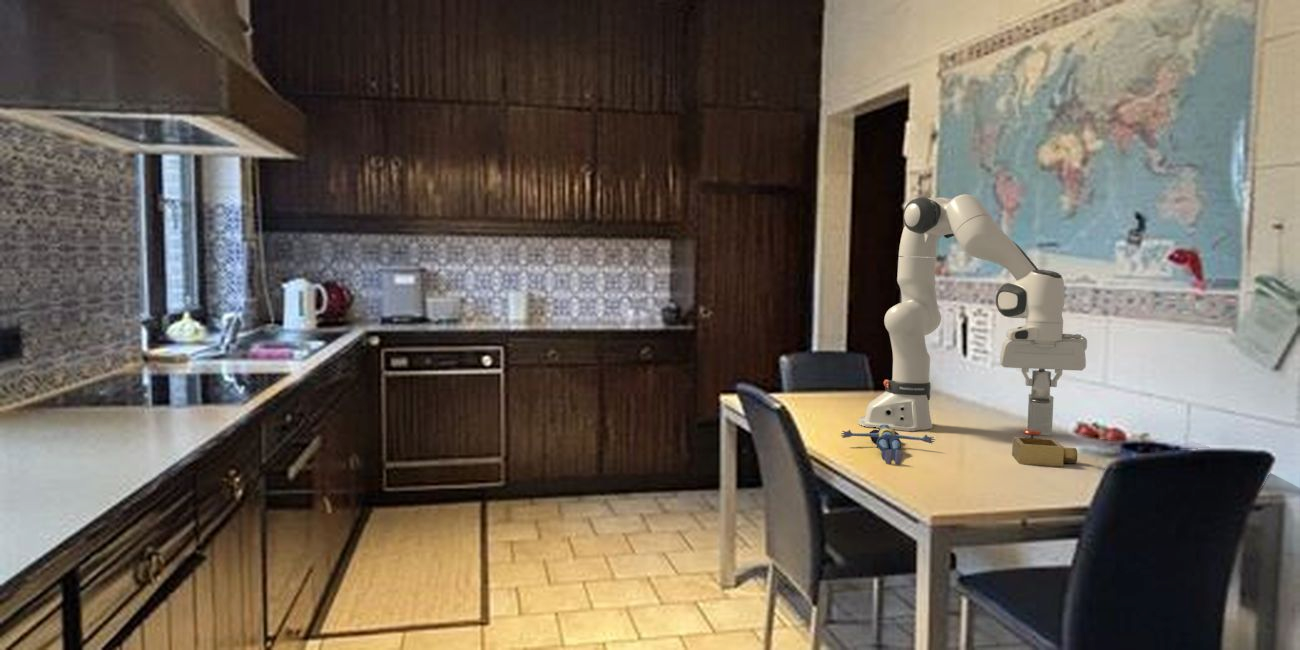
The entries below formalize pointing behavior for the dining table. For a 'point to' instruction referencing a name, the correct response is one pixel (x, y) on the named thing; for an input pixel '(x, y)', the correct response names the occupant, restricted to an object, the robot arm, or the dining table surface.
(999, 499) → the dining table surface
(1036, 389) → the cylinder
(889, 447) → the figurine
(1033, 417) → the skincare box
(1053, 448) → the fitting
